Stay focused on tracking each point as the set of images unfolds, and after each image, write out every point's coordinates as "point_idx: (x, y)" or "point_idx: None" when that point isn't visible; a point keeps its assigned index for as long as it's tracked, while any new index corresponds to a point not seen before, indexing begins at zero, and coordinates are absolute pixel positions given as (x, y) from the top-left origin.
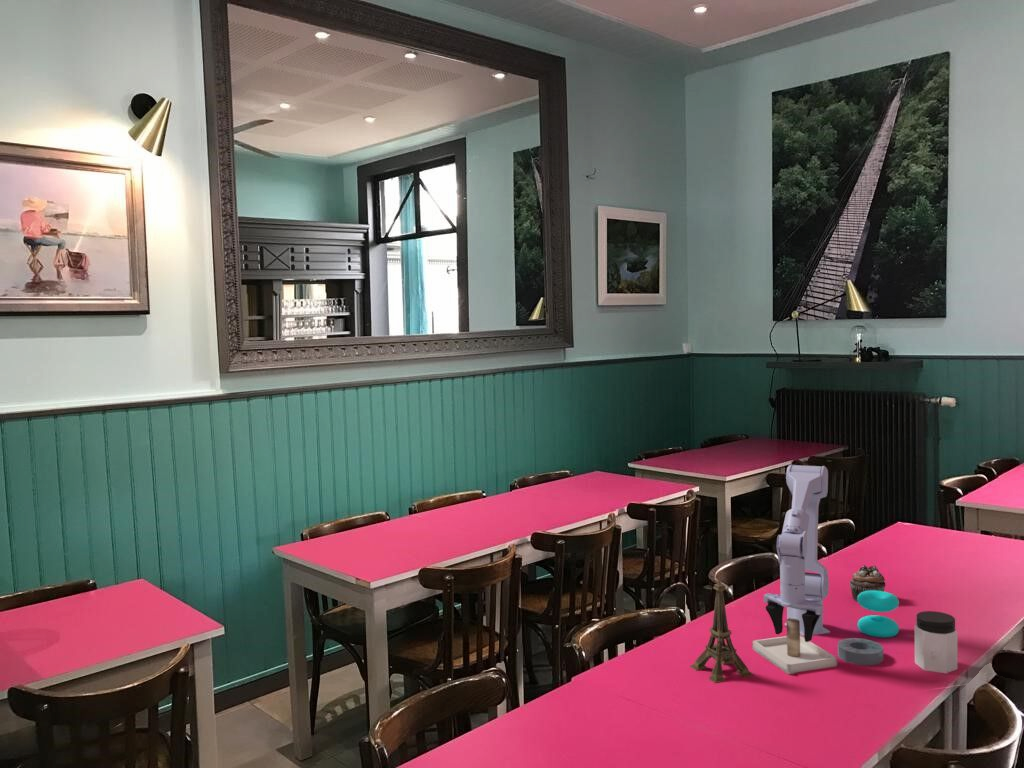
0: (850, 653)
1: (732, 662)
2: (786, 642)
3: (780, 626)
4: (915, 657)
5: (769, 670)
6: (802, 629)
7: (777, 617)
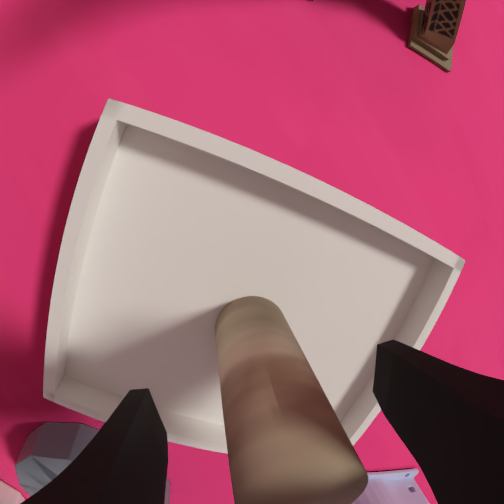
0: (52, 452)
1: (409, 40)
2: (356, 401)
3: (398, 406)
4: (11, 501)
5: (232, 74)
6: None
7: (458, 432)
